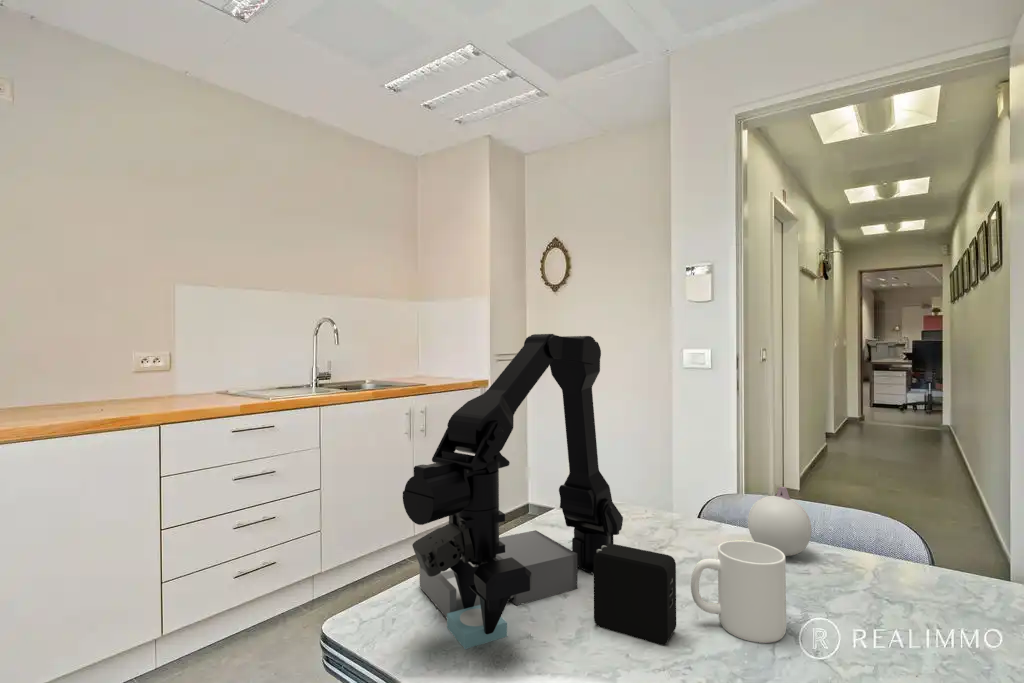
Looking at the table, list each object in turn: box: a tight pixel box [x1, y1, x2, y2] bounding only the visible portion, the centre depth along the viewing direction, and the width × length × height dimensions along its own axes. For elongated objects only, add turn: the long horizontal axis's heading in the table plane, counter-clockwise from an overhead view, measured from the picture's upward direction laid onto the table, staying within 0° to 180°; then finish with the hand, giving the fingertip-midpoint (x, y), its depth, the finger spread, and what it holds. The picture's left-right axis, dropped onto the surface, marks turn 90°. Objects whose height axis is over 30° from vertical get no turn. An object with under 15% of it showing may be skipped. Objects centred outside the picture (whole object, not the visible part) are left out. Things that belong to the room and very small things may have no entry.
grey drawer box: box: [495, 530, 579, 606], centre depth 86 cm, size 11×12×5 cm
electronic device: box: [593, 543, 677, 646], centre depth 71 cm, size 4×10×10 cm, turn 58°
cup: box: [690, 539, 787, 644], centre depth 72 cm, size 8×12×10 cm
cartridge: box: [446, 605, 508, 650], centre depth 71 cm, size 6×6×3 cm
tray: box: [418, 564, 514, 619], centre depth 81 cm, size 11×12×4 cm
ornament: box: [747, 486, 812, 557], centre depth 97 cm, size 10×10×12 cm
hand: (478, 621), depth 71 cm, fingers open, 6 cm apart
